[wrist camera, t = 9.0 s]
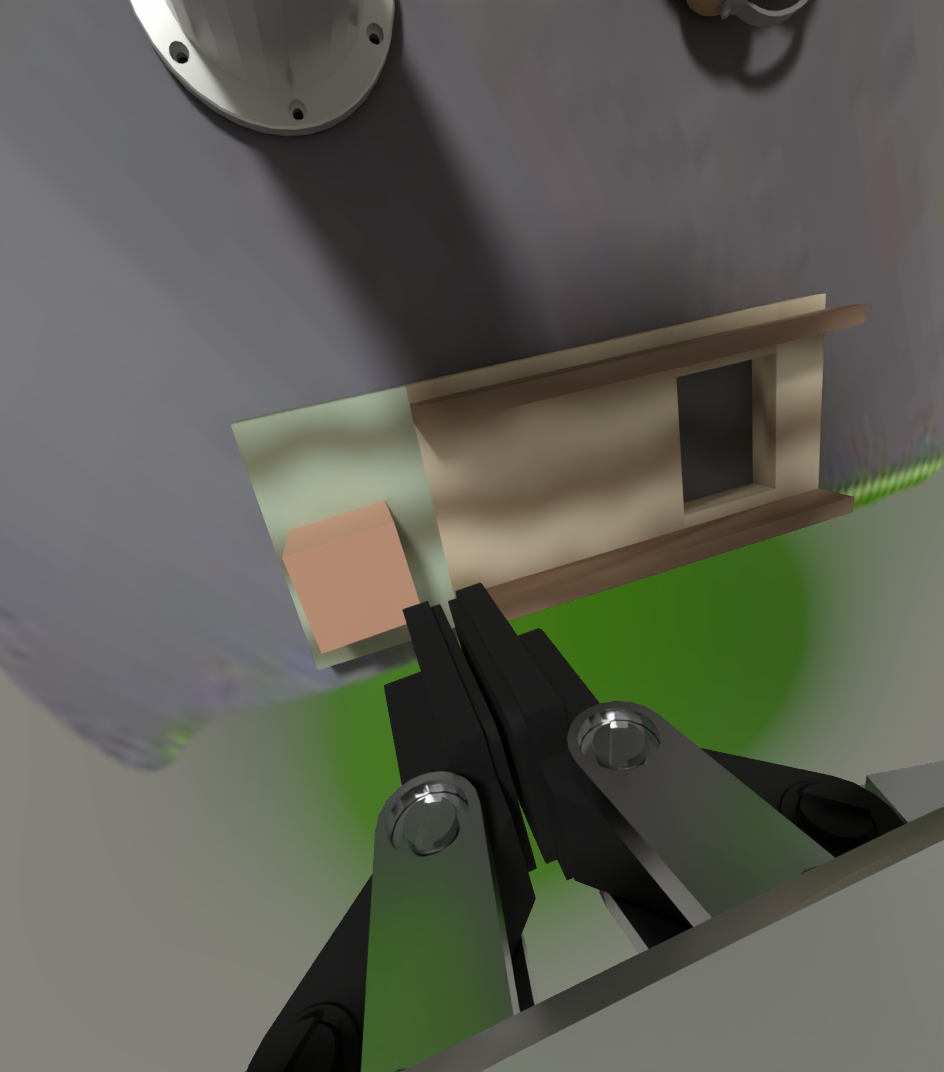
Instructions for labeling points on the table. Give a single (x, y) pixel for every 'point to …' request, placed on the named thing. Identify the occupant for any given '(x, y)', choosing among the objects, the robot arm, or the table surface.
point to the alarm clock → (743, 11)
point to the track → (568, 460)
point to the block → (350, 575)
